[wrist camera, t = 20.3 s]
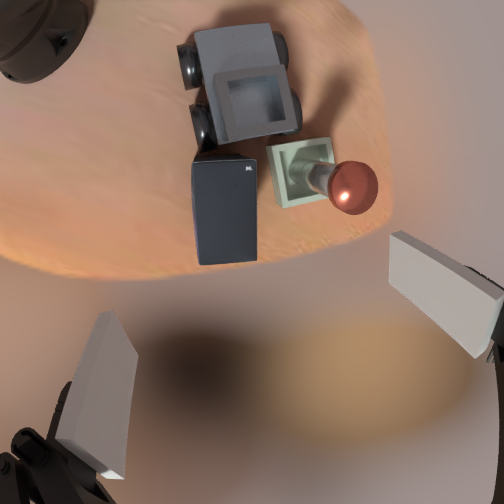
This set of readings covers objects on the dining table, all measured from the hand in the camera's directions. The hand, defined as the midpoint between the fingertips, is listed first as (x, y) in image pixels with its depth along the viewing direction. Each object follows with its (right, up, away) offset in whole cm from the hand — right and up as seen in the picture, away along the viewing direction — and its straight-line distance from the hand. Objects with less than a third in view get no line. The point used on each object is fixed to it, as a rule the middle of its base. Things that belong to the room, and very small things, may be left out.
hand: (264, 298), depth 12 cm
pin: (+6, +13, +24) cm, 28 cm away
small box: (-5, +9, +24) cm, 26 cm away
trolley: (-3, +22, +19) cm, 30 cm away
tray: (+6, +13, +25) cm, 29 cm away
